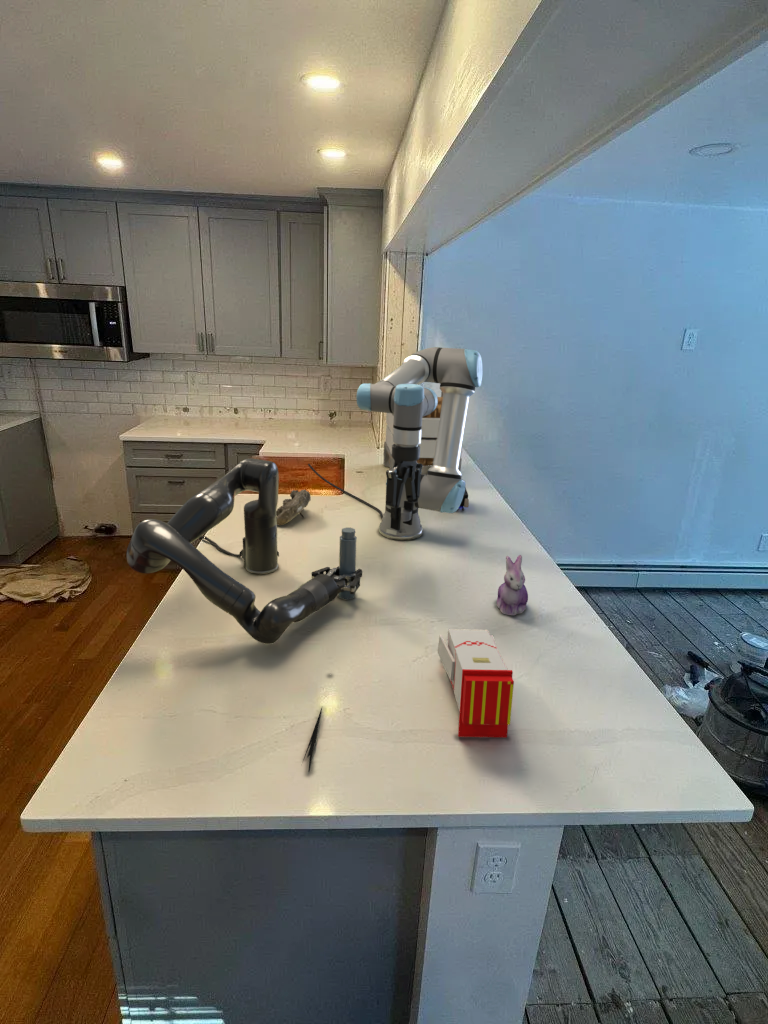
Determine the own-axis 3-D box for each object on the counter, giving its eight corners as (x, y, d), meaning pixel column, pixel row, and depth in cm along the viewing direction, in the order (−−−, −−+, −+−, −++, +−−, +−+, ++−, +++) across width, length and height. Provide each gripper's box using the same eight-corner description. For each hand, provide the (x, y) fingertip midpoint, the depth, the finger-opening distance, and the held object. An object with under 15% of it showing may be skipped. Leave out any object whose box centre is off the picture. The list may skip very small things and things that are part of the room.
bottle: (357, 594, 157) (360, 529, 150) (349, 601, 153) (351, 534, 146) (343, 590, 159) (345, 525, 152) (335, 596, 155) (336, 530, 148)
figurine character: (468, 516, 224) (463, 500, 237) (471, 498, 221) (465, 483, 234) (452, 515, 224) (447, 499, 237) (453, 498, 220) (449, 482, 234)
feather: (331, 679, 122) (336, 673, 122) (307, 777, 96) (313, 769, 95) (324, 675, 122) (329, 669, 121) (298, 772, 95) (304, 764, 95)
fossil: (279, 495, 220) (308, 475, 215) (295, 514, 223) (324, 494, 218) (263, 521, 201) (295, 499, 196) (281, 540, 203) (313, 519, 198)
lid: (389, 516, 158) (389, 508, 157) (404, 514, 160) (404, 506, 159) (399, 522, 154) (400, 514, 153) (414, 519, 156) (415, 511, 155)
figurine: (510, 620, 147) (517, 567, 142) (486, 602, 155) (492, 552, 150) (538, 612, 151) (545, 561, 146) (513, 595, 159) (519, 546, 154)
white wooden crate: (382, 463, 289) (386, 382, 275) (445, 464, 293) (451, 384, 279) (390, 482, 257) (394, 392, 243) (460, 483, 261) (468, 394, 247)
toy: (488, 613, 130) (523, 677, 101) (484, 667, 133) (517, 744, 104) (435, 612, 130) (455, 676, 101) (432, 666, 133) (451, 743, 103)
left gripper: (293, 599, 146) (331, 575, 160) (339, 615, 140) (374, 588, 154) (292, 573, 144) (331, 550, 158) (339, 588, 137) (375, 563, 151)
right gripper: (414, 437, 159) (409, 515, 167) (373, 446, 145) (370, 531, 153) (437, 441, 154) (430, 521, 162) (396, 451, 141) (392, 538, 149)
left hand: (352, 569), depth 156 cm, fingers closed on bottle, 4 cm apart
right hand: (401, 526), depth 158 cm, fingers closed on lid, 5 cm apart
